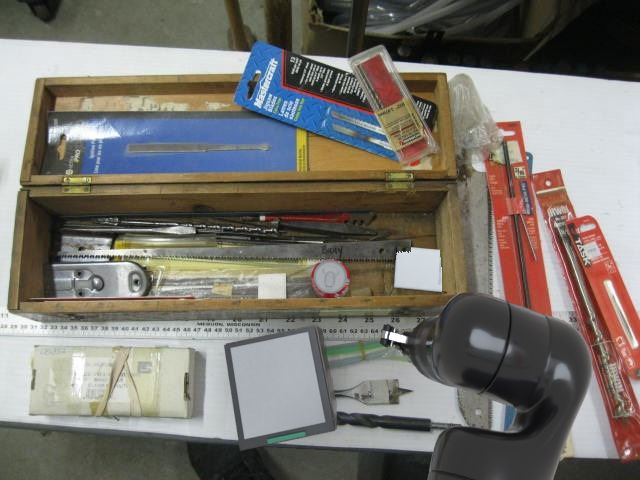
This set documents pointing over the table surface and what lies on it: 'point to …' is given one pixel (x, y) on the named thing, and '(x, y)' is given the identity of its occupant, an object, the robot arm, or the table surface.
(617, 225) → the table surface
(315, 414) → the scale
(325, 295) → the soda can
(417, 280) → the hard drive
